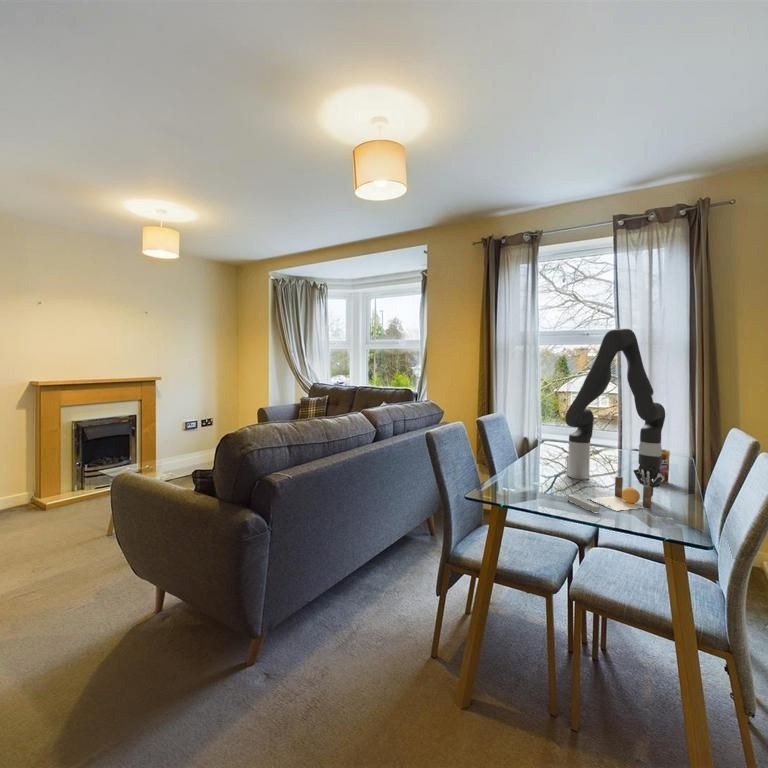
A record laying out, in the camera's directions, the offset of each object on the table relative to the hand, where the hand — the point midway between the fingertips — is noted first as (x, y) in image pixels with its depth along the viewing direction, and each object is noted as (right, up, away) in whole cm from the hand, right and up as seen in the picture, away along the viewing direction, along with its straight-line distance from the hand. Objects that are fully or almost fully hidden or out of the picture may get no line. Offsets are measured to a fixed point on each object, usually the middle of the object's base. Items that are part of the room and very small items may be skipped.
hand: (648, 496), depth 163 cm
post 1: (-9, -1, +4) cm, 10 cm away
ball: (-9, +1, -4) cm, 10 cm away
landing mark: (-15, -2, -4) cm, 16 cm away
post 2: (-6, -2, -8) cm, 10 cm away
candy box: (+21, -1, +26) cm, 34 cm away
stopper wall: (-30, -2, -8) cm, 31 cm away
